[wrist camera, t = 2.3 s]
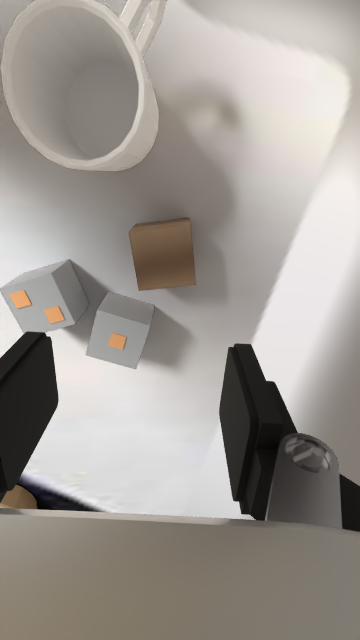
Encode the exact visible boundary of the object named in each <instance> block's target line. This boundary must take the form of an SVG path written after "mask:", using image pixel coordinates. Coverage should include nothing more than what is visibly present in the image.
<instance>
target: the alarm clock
mask: <svg viewBox="0 0 360 640" xmlns="http://www.w3.org/2000/svg"><path fill="white" fill-rule="evenodd" d="M0 508H13V509H37V503H36V500H35V498H34V497H33V495H32V494H31V493H30V492H28V491H27V490H26V489H24V488H23V487H21V486H18V485H15V487H14V489H13V490H11V491H7V493H6V494H5V496H4V498H3V500H2V502H1V503H0Z"/></svg>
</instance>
